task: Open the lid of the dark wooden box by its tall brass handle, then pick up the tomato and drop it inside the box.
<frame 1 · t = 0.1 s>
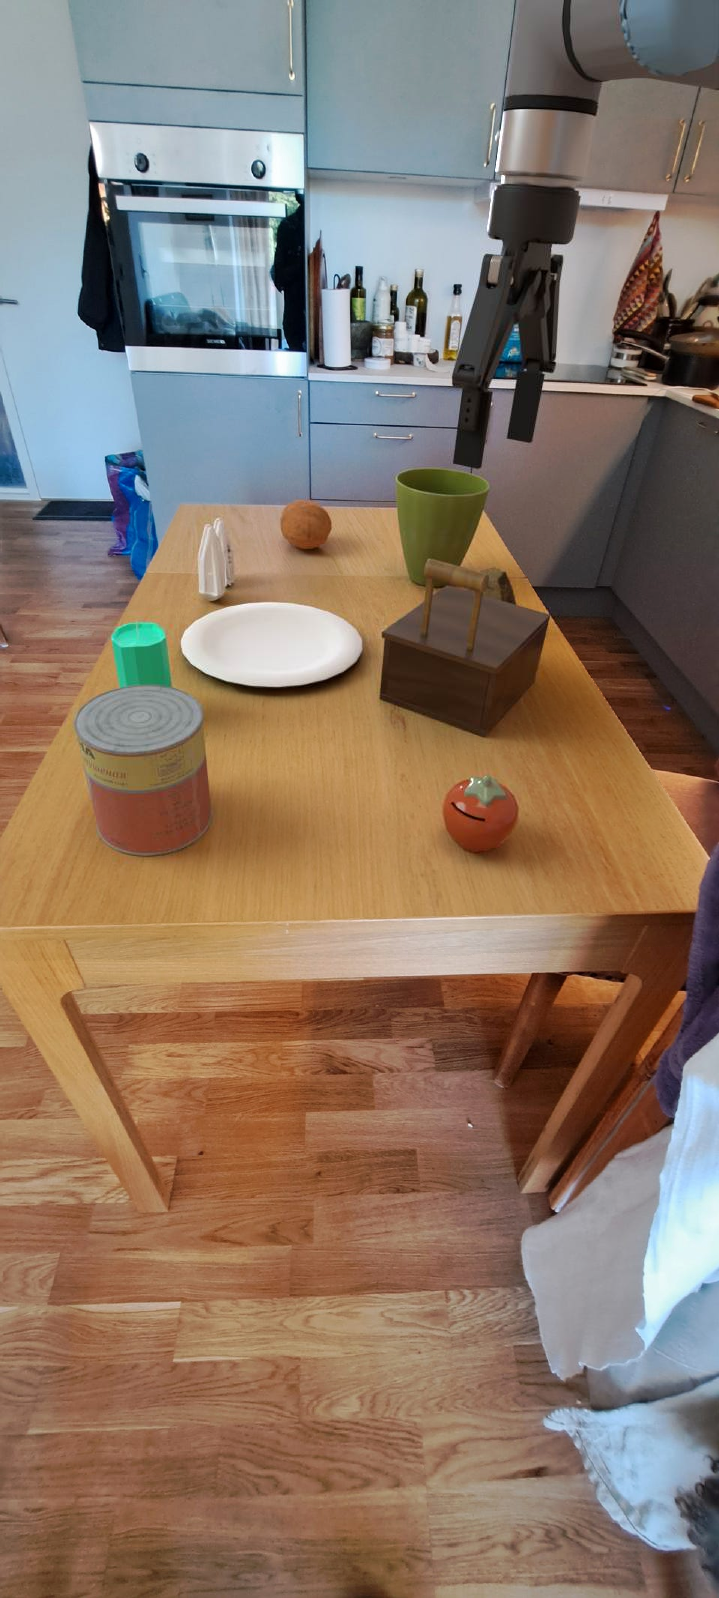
hand: (494, 452, 76), 30 cm above the table, tool pointing down, fingers open, 13 cm apart
candle: (149, 715, 88), on the table
plate: (273, 651, 103), on the table
rock: (479, 625, 113), on the table
dark wooden box: (459, 690, 97), on the table
tomato: (474, 841, 74), on the table
shaker set: (217, 592, 117), on the table
flower pot: (430, 579, 126), on the table
lid: (474, 590, 88), point 14 cm above the table, hinge at 0.0°
canned food: (155, 818, 74), on the table
brown coconut: (305, 547, 134), on the table
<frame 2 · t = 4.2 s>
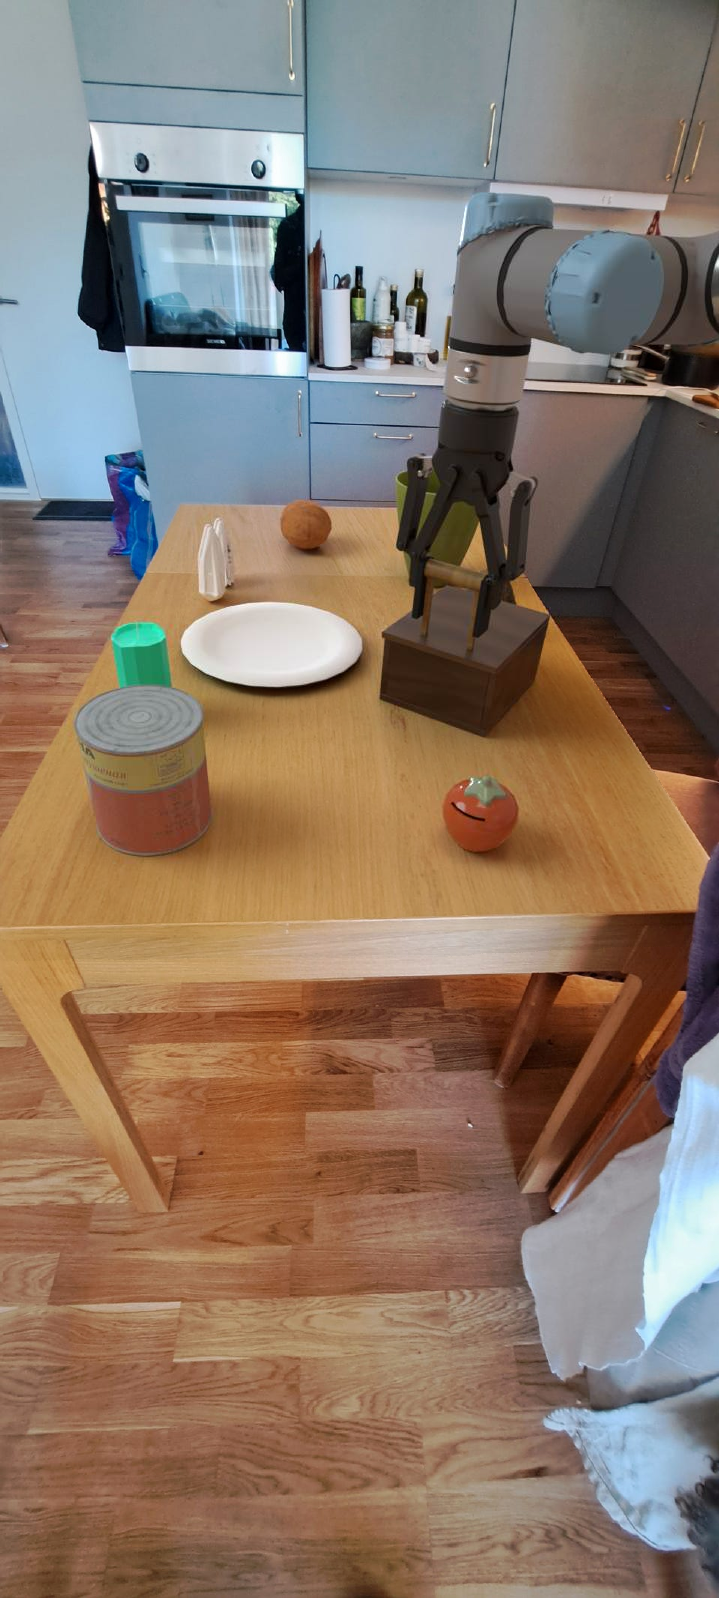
hand: (449, 623, 85), 12 cm above the table, tool pointing down, fingers closed on lid, 7 cm apart
lid: (474, 590, 88), point 14 cm above the table, hinge at 0.0°, touching gripper
everything else where it was.
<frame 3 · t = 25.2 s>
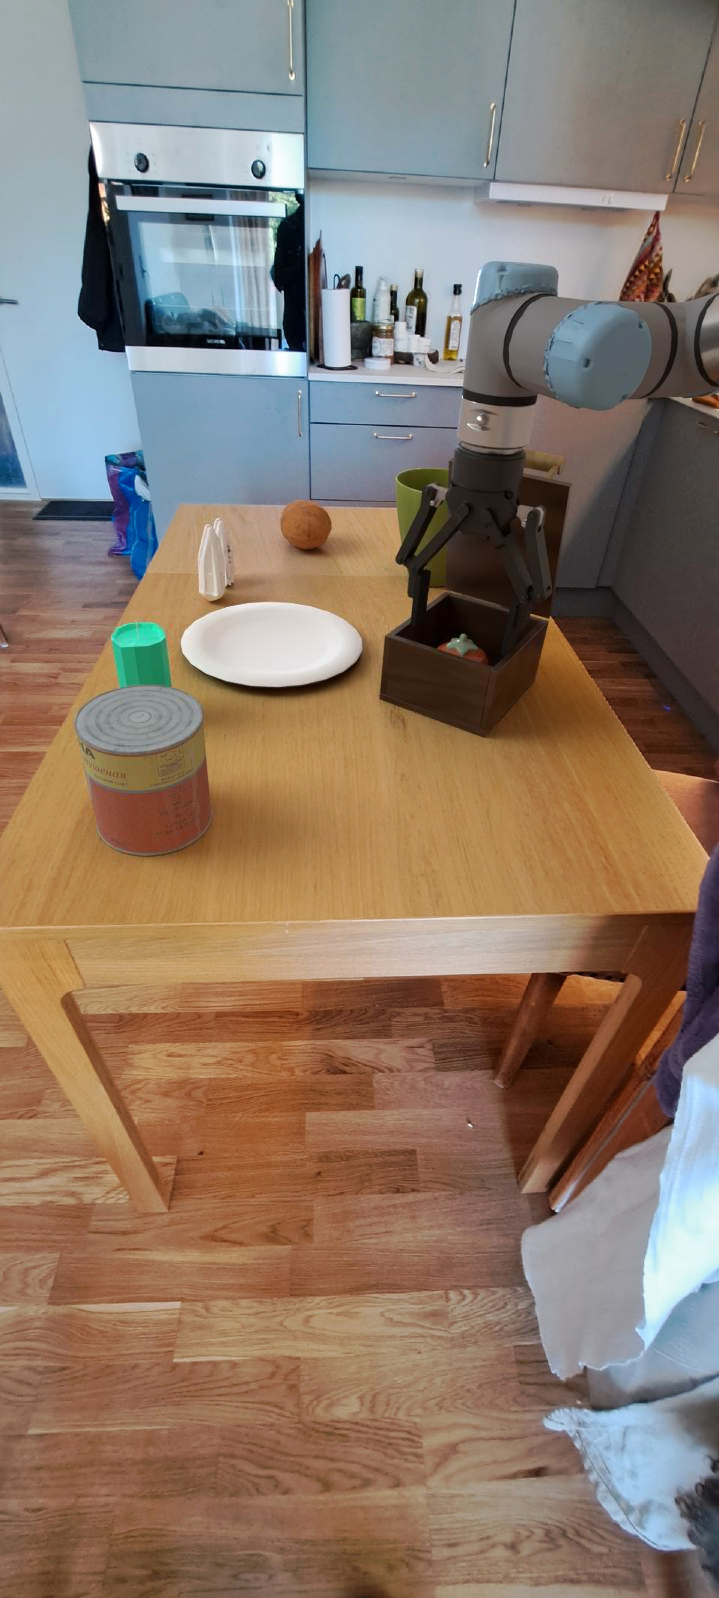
hand: (461, 637, 90), 9 cm above the table, tool pointing down, fingers open, 12 cm apart
tomato: (454, 692, 95), point 1 cm above the table, touching dark wooden box
lid: (517, 523, 92), point 19 cm above the table, hinge at 76.5°
everything else where it was.
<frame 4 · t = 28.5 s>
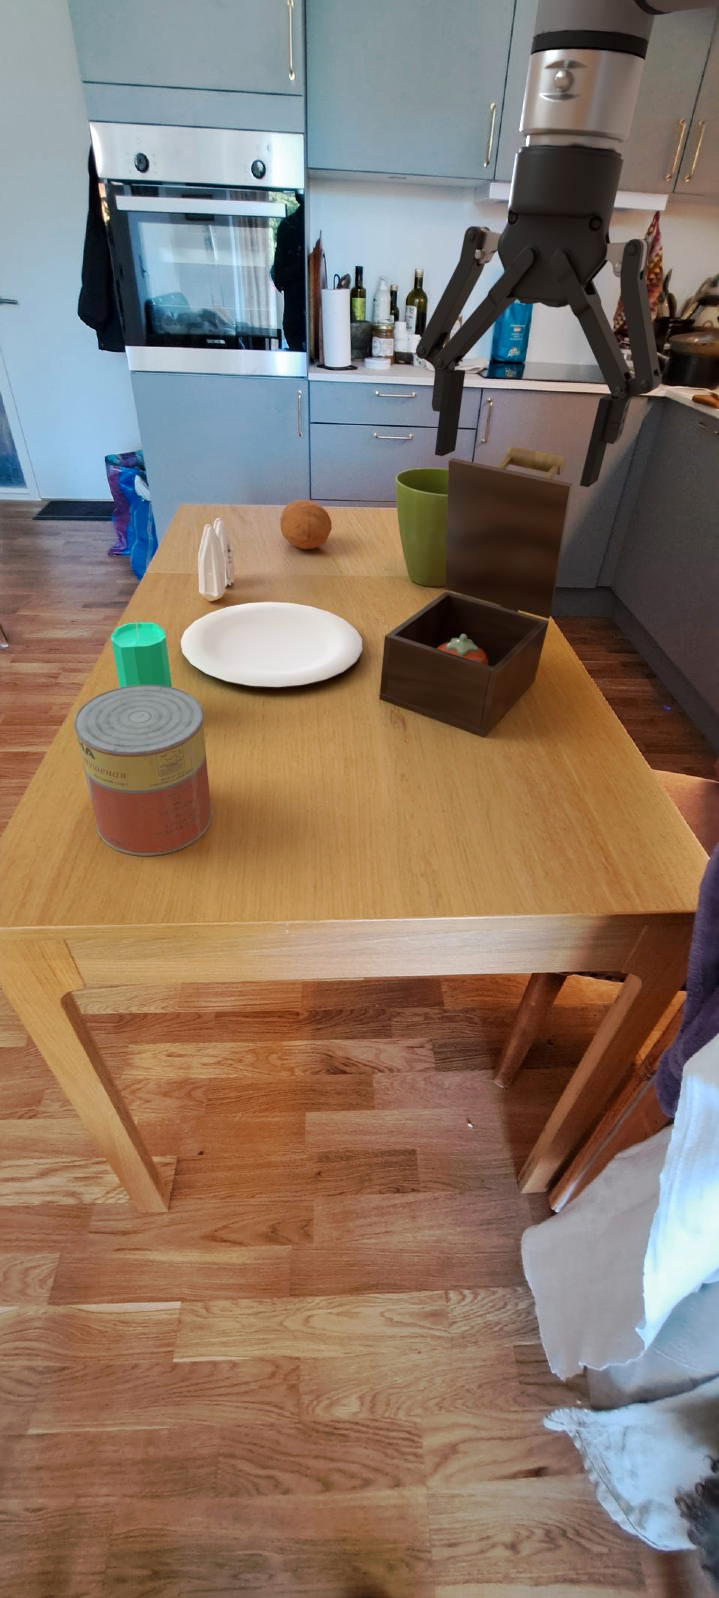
hand: (514, 467, 65), 32 cm above the table, tool pointing down, fingers open, 13 cm apart
nothing on the table moved.
at the end: lid at +76° (first picture: +0°); tomato inside the target area in the dark wooden box (2.1 cm from its centre), point 0.7 cm above the dark wooden box's base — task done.
